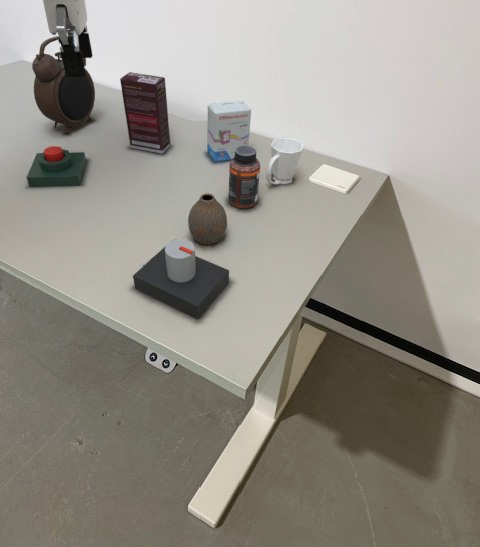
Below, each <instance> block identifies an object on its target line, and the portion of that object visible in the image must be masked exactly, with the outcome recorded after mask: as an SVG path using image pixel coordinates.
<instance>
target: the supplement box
mask: <svg viewBox="0 0 480 547" xmlns="http://www.w3.org/2000/svg"><path fill="white" fill-rule="evenodd" d="M119 81H120V86H121V94H122V100H123V101H122V102H123V107H124V114H125V120H126V127H127V133H128V140H129V146H130V149H134V150H141V151H144V152H145V151H146V152H152V153H156V154H162V155H163V154H164V153H165V152H166V151H167V150H168V149H169V148H170V147H171V135H170V122H169V113H168V110H169V109H168V98H167V87H166V86H167V85H166V78H165V77H164V76H157V75H152V74H144V73H138V72H132V71H129V72H127V73H126V74H125V75H122V77H120V78H119Z"/></svg>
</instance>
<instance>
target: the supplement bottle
mask: <svg viewBox="0 0 480 547" xmlns="http://www.w3.org/2000/svg"><path fill="white" fill-rule="evenodd" d="M260 162H261V161H260V160H259V159H258V158H257V149H256V148H255V147H253V146H251V145H248V146H239V147H237V148H236V149H235V157H234V158H232V160H229V167H228V168H229V170H228V202H229V204H230V205H231V206H233V207H235V208H238V209H250V208H252V207H254V206H256V204H257V203H258V199H259V187H260V177H261V176H260V175H261V174H260V173H261V163H260Z"/></svg>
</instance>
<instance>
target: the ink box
mask: <svg viewBox="0 0 480 547" xmlns="http://www.w3.org/2000/svg"><path fill="white" fill-rule="evenodd" d="M251 115H252V109H251V108H250V107H249V106H248V104H247V103H246V102H245V101H244V100H232V101H219V102H218V101H217V102H210V103H209V104H208V105H207V131H206V132H207V135H206V137H207V138H206V139H207V145H206V146H207V147H206V148H207V149H206V152H207V154H208V155H209V157H210V159H211V160H212V161H213V162H214V163H219V162H226V161H231V160H232V158H234V157H235V149H236V148H237V147H239V146H249V143H250V142H249V141H250V130H251V117H252V116H251Z"/></svg>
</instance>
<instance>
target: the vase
mask: <svg viewBox="0 0 480 547" xmlns="http://www.w3.org/2000/svg"><path fill="white" fill-rule="evenodd" d="M187 226H188V230H189V232H190V235H191V236H192V238H193V239H194V240H195V241H197V242H198V243H200V244H202V245H213V244H215V243H218V242H220V240H222V238H224V236H225V233H226V231H227V227H228V216H227V212H226V210H225V208H224V206H222V204H221V203H220V202H219V201H218V200H217V199H216V198H215V196H214V194H212V193H207V192H206V193H203V194H201V195H200V197H199V199H198V200H197V201H196V202H195V203H194V204H193V205H192V206H191V208H190V210H189V213H188V217H187Z"/></svg>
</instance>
